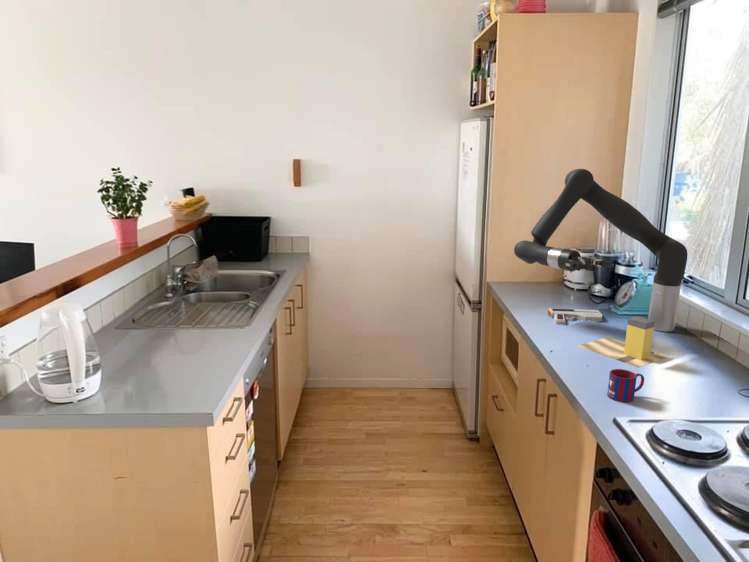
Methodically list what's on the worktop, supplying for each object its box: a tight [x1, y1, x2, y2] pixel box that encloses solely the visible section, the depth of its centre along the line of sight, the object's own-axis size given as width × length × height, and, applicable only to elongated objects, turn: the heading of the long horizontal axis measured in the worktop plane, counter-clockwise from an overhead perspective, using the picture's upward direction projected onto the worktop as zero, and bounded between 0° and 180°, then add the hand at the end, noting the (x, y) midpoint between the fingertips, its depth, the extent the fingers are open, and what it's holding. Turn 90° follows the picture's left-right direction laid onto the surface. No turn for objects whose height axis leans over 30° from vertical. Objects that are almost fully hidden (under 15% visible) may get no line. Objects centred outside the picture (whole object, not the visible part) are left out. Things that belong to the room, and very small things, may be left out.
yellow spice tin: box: [624, 315, 655, 360], centre depth 186 cm, size 5×6×12 cm
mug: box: [606, 368, 645, 403], centre depth 159 cm, size 7×10×7 cm
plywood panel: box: [577, 336, 669, 368], centre depth 191 cm, size 17×22×1 cm
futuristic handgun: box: [547, 307, 603, 325], centre depth 228 cm, size 3×20×15 cm
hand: (603, 266), depth 196 cm, fingers open, 8 cm apart
